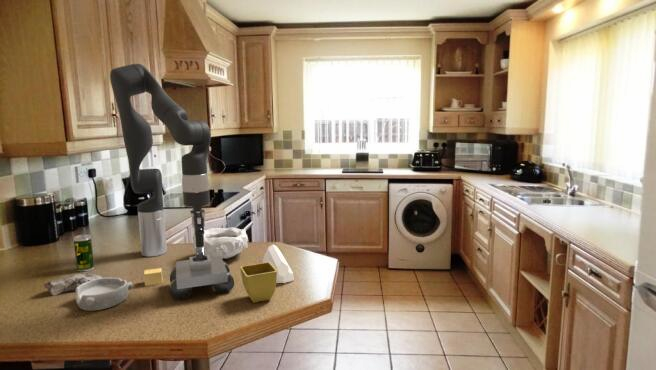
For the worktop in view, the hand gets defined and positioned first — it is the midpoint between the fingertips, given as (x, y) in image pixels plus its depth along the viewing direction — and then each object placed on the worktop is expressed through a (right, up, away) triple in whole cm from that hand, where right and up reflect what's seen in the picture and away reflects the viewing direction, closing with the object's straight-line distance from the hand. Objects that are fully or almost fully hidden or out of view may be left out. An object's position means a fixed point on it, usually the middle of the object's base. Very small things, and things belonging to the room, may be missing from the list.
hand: (199, 245), depth 124 cm
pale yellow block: (-17, -13, +7) cm, 23 cm away
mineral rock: (-40, -14, +4) cm, 43 cm away
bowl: (-1, -9, +31) cm, 32 cm away
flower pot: (+19, -15, -6) cm, 25 cm away
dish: (-26, -16, -6) cm, 31 cm away
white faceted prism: (+22, -12, +15) cm, 29 cm away
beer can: (-47, -12, +21) cm, 52 cm away
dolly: (0, -14, +2) cm, 14 cm away
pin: (0, -4, +1) cm, 4 cm away
